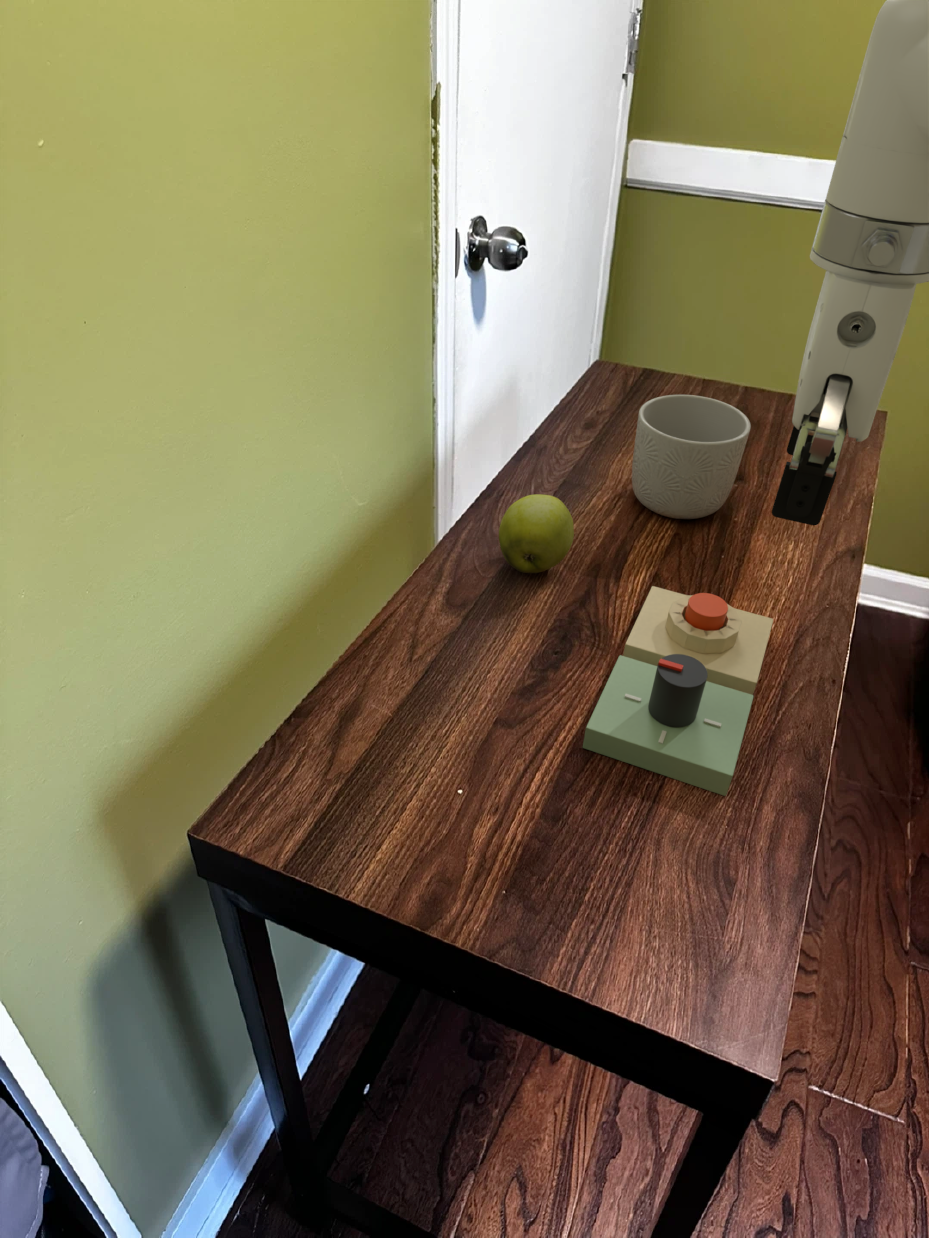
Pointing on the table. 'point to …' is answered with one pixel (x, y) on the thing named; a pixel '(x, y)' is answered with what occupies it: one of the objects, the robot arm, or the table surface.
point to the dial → (677, 690)
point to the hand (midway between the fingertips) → (801, 486)
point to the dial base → (669, 729)
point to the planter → (687, 454)
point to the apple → (536, 533)
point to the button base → (701, 640)
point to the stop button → (706, 611)
